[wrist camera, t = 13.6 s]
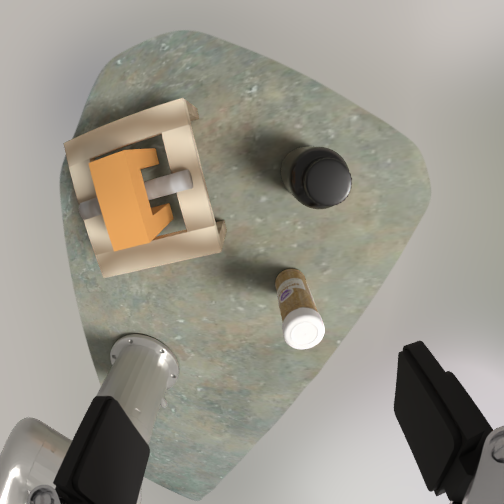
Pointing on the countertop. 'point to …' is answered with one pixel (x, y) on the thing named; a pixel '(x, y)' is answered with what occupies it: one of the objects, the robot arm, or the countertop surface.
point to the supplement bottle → (316, 176)
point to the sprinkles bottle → (298, 310)
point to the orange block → (128, 198)
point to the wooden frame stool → (149, 188)
